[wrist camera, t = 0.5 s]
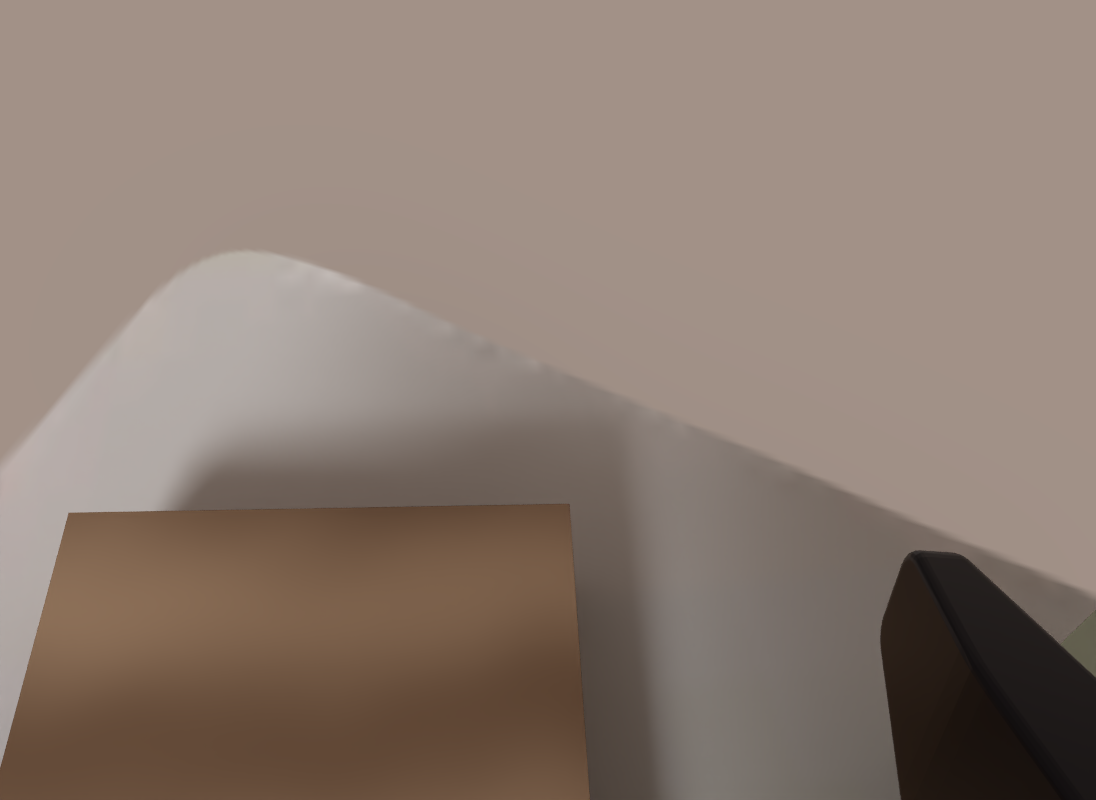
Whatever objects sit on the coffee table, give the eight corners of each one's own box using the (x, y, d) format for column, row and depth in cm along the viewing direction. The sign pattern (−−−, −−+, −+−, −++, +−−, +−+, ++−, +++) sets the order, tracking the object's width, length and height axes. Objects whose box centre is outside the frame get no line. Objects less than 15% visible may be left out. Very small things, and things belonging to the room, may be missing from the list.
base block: (593, 1100, 20) (610, 1086, 17) (-9, 1133, 19) (-95, 1121, 16) (561, 576, 26) (569, 504, 24) (115, 586, 26) (68, 512, 23)
